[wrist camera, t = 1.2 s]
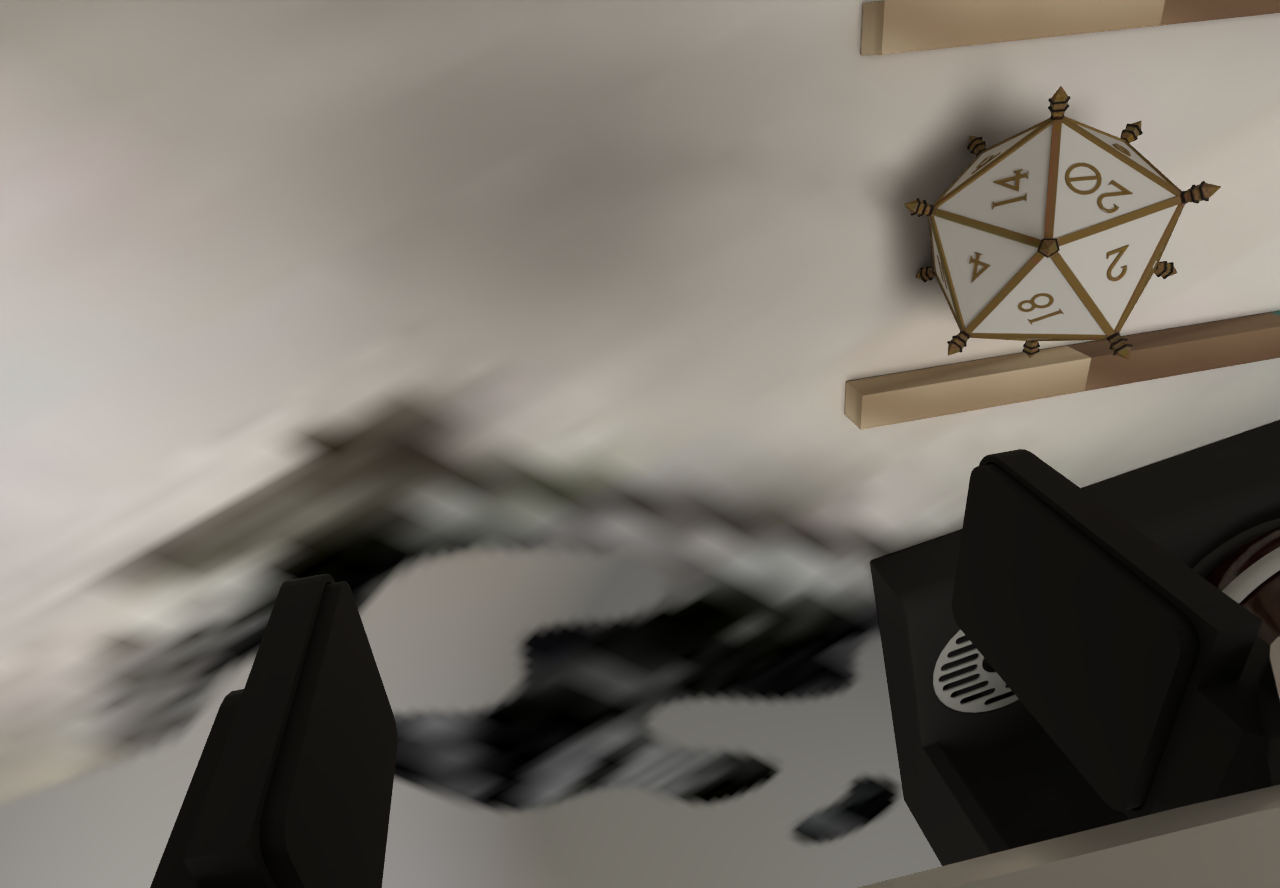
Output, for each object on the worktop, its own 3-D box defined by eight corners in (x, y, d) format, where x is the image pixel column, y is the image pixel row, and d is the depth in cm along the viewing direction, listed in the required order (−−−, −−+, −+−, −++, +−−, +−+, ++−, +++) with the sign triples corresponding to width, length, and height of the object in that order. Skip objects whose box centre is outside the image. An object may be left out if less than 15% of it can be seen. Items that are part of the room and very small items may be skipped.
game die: (880, 211, 32) (830, 217, 23) (1081, 58, 28) (1110, -4, 19) (1003, 384, 32) (999, 454, 23) (1224, 257, 28) (1319, 286, 19)
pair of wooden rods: (862, 3, 25) (884, 0, 23) (1608, -68, 29) (1662, -75, 27) (844, 414, 32) (860, 429, 30) (1444, 312, 36) (1482, 322, 34)
